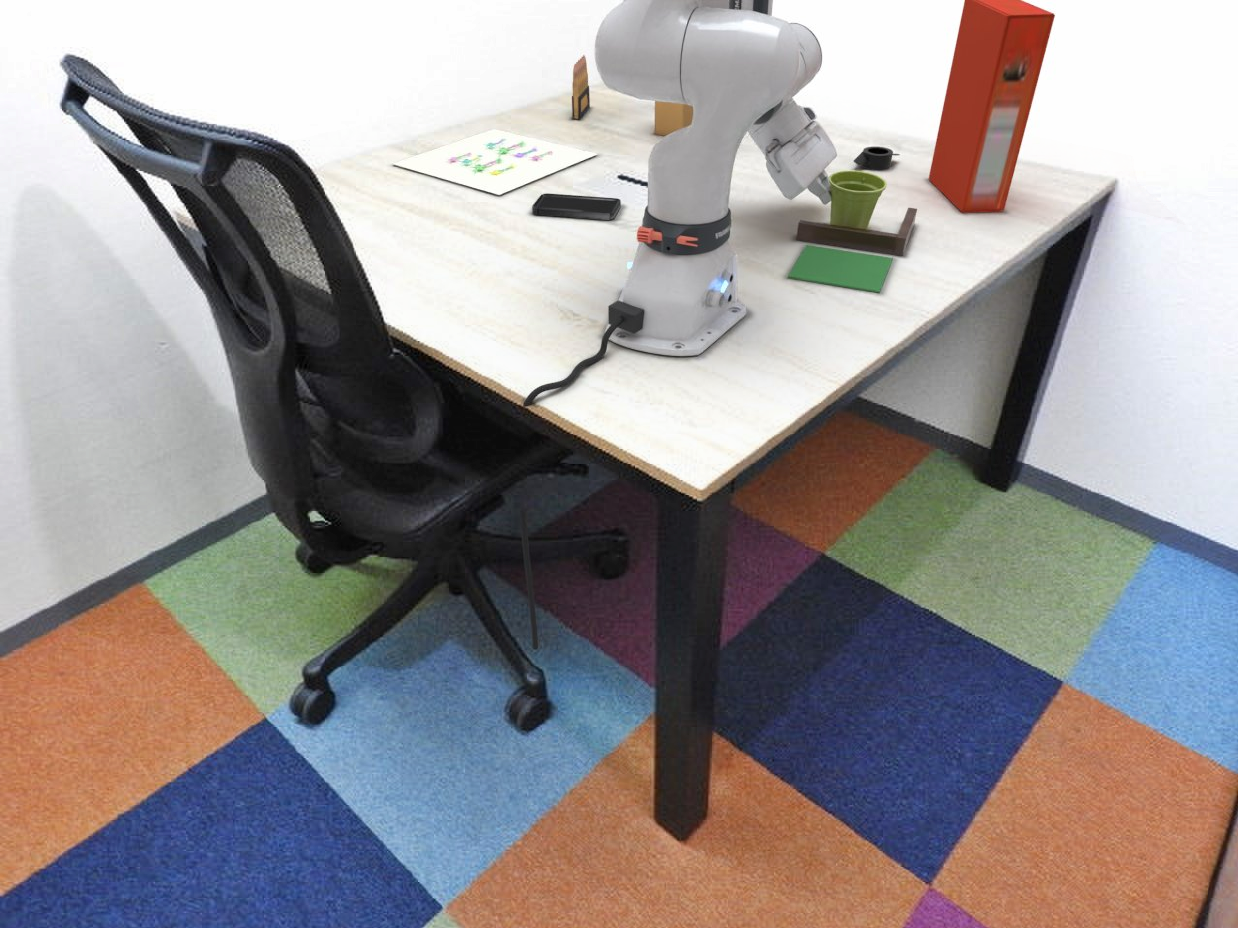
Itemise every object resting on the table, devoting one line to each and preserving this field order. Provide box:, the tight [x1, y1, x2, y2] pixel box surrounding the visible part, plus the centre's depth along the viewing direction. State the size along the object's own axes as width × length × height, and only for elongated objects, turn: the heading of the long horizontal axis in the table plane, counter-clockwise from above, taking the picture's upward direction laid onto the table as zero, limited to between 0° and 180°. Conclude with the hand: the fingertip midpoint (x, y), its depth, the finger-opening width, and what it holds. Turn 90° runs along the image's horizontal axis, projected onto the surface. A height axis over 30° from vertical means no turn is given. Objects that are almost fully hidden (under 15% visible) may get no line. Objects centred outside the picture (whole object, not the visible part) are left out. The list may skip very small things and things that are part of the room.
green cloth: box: [787, 244, 893, 294], centre depth 136 cm, size 13×14×1 cm
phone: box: [531, 192, 622, 221], centre depth 156 cm, size 8×1×15 cm
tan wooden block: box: [653, 0, 729, 137], centre depth 181 cm, size 23×23×42 cm
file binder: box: [928, 0, 1056, 214], centre depth 152 cm, size 8×17×32 cm, turn 3°
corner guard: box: [795, 207, 918, 257], centre depth 147 cm, size 14×18×3 cm
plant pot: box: [828, 170, 888, 230], centre depth 146 cm, size 9×9×9 cm
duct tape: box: [853, 146, 901, 171], centre depth 175 cm, size 8×10×3 cm
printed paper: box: [392, 128, 598, 196], centre depth 178 cm, size 30×30×2 cm
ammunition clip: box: [571, 54, 591, 121], centre depth 203 cm, size 11×2×12 cm, turn 169°
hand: (831, 200), depth 147 cm, fingers closed, pressing on plant pot
